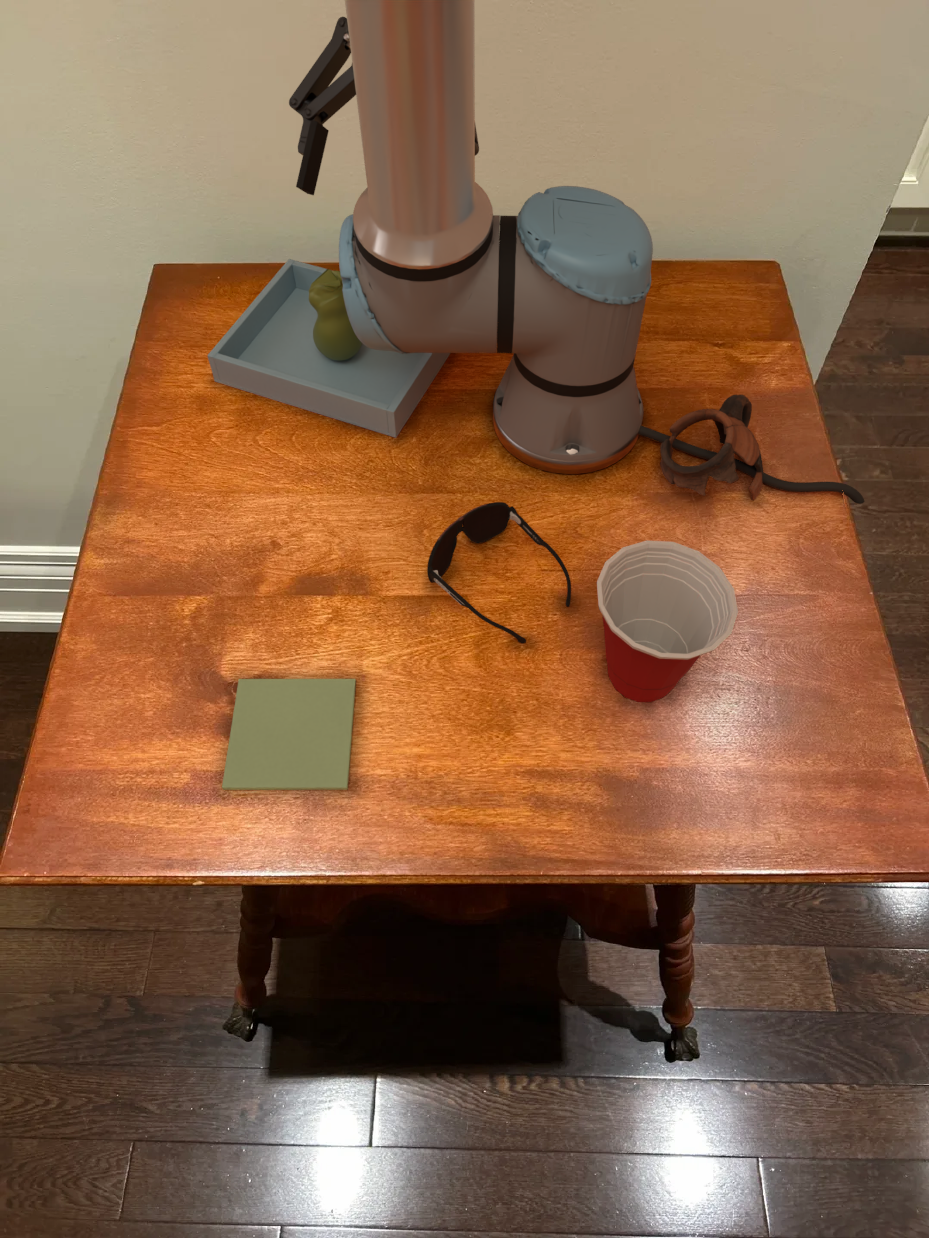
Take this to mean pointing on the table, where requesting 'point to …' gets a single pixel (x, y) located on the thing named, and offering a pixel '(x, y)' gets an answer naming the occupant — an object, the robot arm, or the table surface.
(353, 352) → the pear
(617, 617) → the plastic cup
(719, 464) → the brown piece
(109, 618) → the table surface
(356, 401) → the tray
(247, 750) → the coaster
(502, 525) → the sunglasses
